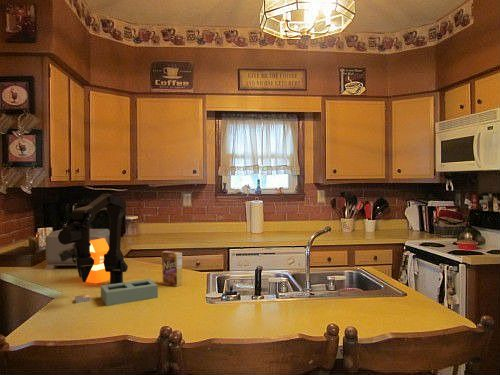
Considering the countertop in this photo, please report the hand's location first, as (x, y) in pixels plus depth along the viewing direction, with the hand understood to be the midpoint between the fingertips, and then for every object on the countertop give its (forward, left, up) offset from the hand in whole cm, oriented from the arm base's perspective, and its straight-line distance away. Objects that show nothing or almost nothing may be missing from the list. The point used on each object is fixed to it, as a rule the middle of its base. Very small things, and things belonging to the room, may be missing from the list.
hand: (82, 279), depth 151 cm
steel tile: (0, 0, -9) cm, 9 cm away
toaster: (-70, +10, -9) cm, 71 cm away
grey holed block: (+6, +17, -8) cm, 20 cm away
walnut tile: (+6, +12, -6) cm, 15 cm away
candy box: (-4, +39, -9) cm, 40 cm away
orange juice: (-31, +11, -9) cm, 34 cm away
